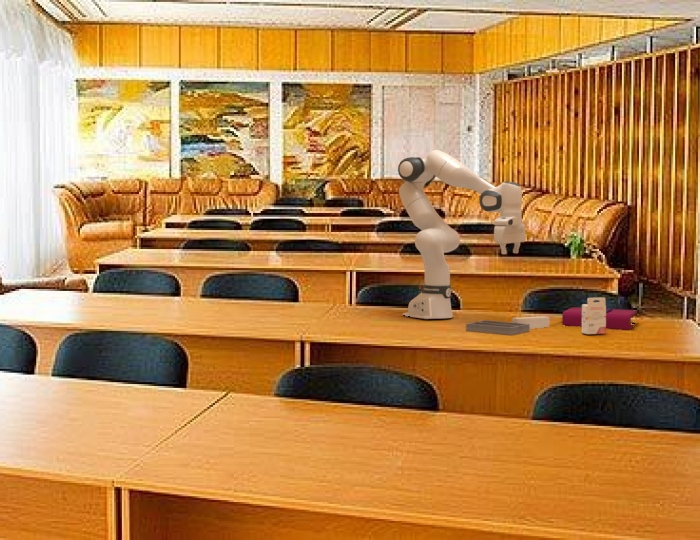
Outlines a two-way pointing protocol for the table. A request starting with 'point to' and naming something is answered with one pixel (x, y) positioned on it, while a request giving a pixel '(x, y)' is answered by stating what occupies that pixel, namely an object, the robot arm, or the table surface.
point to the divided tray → (497, 327)
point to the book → (613, 318)
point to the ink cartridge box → (594, 316)
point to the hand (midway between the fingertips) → (509, 253)
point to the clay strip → (533, 321)
